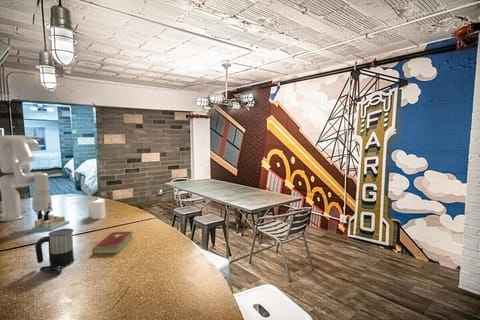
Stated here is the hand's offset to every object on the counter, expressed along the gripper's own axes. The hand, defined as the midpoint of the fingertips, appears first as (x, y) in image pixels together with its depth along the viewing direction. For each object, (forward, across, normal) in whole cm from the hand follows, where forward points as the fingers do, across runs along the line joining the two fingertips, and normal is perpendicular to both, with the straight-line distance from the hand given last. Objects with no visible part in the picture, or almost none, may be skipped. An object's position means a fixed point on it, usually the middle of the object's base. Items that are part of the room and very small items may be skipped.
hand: (43, 219), depth 164 cm
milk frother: (+3, +54, -48) cm, 73 cm away
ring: (+3, +5, 0) cm, 6 cm away
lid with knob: (+4, +6, 0) cm, 7 cm away
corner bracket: (+4, +22, +23) cm, 32 cm away
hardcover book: (+4, +65, -23) cm, 69 cm away
